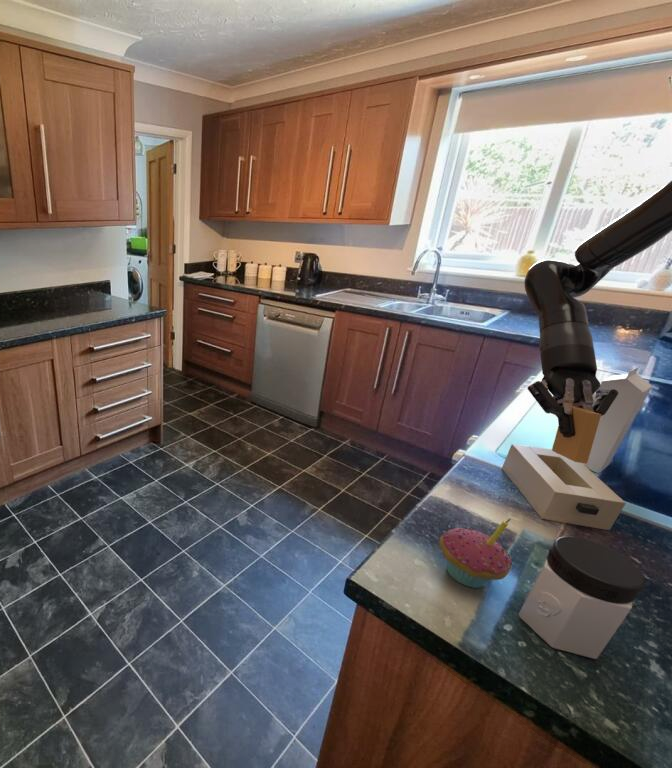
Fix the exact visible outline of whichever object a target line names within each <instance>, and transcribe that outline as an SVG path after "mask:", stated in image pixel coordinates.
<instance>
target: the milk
mask: <svg viewBox="0 0 672 768" xmlns="http://www.w3.org/2000/svg"><path fill="white" fill-rule="evenodd" d="M639 368H640V366H639V365H638V366H636V367H634V368H633V369H630V371H629V372H628V373H623V374H622V373H621V374H615V375H611V376H609V377H607V378H605V379H604V380H603V379H602V381H601V382H600V386H602V387H604V388H606V389H607V390H609V391H610V390H612V389H614V390H617V391H618V395H617V397H616V398H615V400H614V401H613V403H612V404H611V406H610V407H609V409H608V411H607V412H606V414H605V415H603V416H601V417H600V420H599V424H598V427H597V431H596V434H595V438H594V441H593V445H592V448H591V452H590V455H589V459H588V462H587V464H586V463H582V464H583V465H584V466H586V467H587V468H588V469H589V470H590V471H591V472H595V473H597V474H601V472H602V471H604V470H605V469H606V468H607V467H608V466H609V465H610V464H611V462H612V461H613V458H614V457H615V455H616V453H617V451H618V450H619V447H620V446H621V444H622V442H623V440H624V439H625V437H626V436H627V433H628V431H629V430H630V428H631V426H632V424H633V423H634V421H635V419H636V418H637V416H638V413H639V412H640V411H641V410H640V408H641V406H642V404H643V402H644V401H645V399H646V400H647V397H648V395H649V393H650V392H651V390H652V388H653V385H652V384H651V383H650V382H648V381H647V380H645V378H643V377H642V376H641V375H639V374H638V370H639ZM595 397H596V394H595ZM595 397H594V399H593V401H594V403H593V405H594V404H595V402H596V401H597V399H595ZM593 405H592V407H593ZM639 410H640V411H639ZM638 411H639V412H638Z"/></svg>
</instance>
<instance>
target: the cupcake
mask: <svg viewBox="0 0 672 768" xmlns="http://www.w3.org/2000/svg"><path fill="white" fill-rule="evenodd" d="M511 520H512V519H511V518H508V519H507V520H503V521H502V522H501V523H500V525H499V526H498V527H497V529H496V530H495V531H494V532H493V533H492V534H491V536H490V535H488V534H487V533H484V532H481V531H478V530H475V529H470V528H467V527H453V528H451V529H449V530H446V531H445V532H443V534H442V535H441V536H440V538H439V541H438V543H439V548H440V550H441V552H442V555H443V557H444V558H445V561H446V571H447V573H448V574H449V576H450V577H451V578H452V579H454V581H456V582H458V583H459V584H461V585H463V586H466V587H469V588H472V589H478V588H482V587H483V586H485V585H486V584H488V583H489V582H490V581H491V580H492V581H493V580H495V581H499V580H503V579H505V578H506V577H507V575H509V573H510V570H511V568H512V566H513V564H512V562H513V559H512V556H510V554H508V551H507V550H506V549H505V547H504V546H502V544H500V543H499V542H498V541H497V540H498V538H499V537H500V536H501V535H502V534H503V532H504V531H505V530H506V528H507V527H508V526H509V522H510V521H511Z"/></svg>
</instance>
